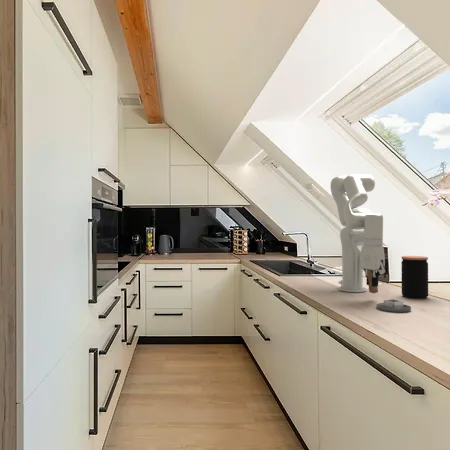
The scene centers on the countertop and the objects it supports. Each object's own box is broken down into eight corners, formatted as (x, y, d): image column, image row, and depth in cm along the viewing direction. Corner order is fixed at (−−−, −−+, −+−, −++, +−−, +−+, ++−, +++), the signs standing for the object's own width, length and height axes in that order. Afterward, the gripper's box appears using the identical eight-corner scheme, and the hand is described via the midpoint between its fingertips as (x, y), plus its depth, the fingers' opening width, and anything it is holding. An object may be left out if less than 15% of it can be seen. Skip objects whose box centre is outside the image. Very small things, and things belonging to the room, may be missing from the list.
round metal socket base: (369, 307, 143) (369, 299, 143) (392, 304, 148) (392, 296, 148) (394, 314, 132) (394, 305, 132) (418, 310, 137) (418, 302, 137)
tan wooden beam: (369, 292, 157) (366, 269, 156) (373, 290, 158) (371, 268, 157) (373, 293, 155) (371, 270, 154) (378, 292, 156) (375, 269, 155)
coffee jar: (419, 294, 169) (419, 255, 169) (433, 299, 159) (433, 257, 159) (397, 294, 169) (396, 255, 169) (409, 299, 158) (409, 258, 158)
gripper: (352, 241, 161) (352, 282, 162) (380, 245, 146) (380, 290, 147) (366, 240, 164) (365, 281, 165) (394, 244, 149) (393, 288, 150)
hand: (372, 285), depth 156 cm, fingers closed on tan wooden beam, 2 cm apart
